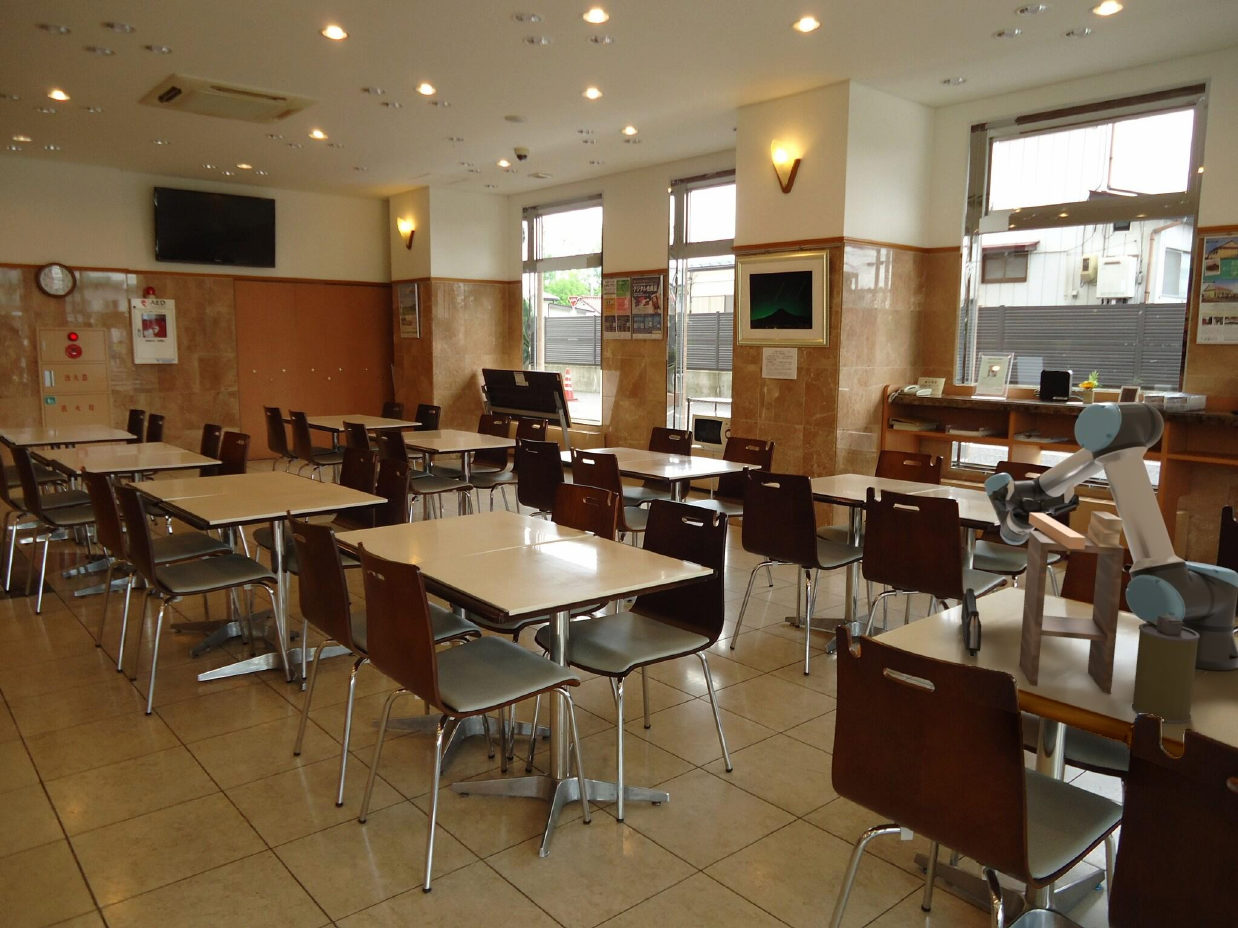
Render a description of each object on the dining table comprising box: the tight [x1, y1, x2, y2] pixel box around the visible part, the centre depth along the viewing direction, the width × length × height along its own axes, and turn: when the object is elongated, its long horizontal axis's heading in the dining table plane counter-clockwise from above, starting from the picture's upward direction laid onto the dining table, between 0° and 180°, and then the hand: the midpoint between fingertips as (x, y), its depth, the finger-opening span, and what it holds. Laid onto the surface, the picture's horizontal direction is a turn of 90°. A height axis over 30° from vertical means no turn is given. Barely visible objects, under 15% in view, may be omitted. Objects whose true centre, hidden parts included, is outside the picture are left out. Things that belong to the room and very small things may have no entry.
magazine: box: [960, 587, 982, 657], centre depth 223 cm, size 17×3×30 cm
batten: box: [1029, 513, 1085, 549], centre depth 197 cm, size 28×3×2 cm, turn 171°
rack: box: [1018, 510, 1125, 695], centre depth 195 cm, size 16×14×38 cm
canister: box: [1131, 616, 1200, 724], centre depth 178 cm, size 11×10×20 cm
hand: (1042, 486), depth 216 cm, fingers open, 13 cm apart
